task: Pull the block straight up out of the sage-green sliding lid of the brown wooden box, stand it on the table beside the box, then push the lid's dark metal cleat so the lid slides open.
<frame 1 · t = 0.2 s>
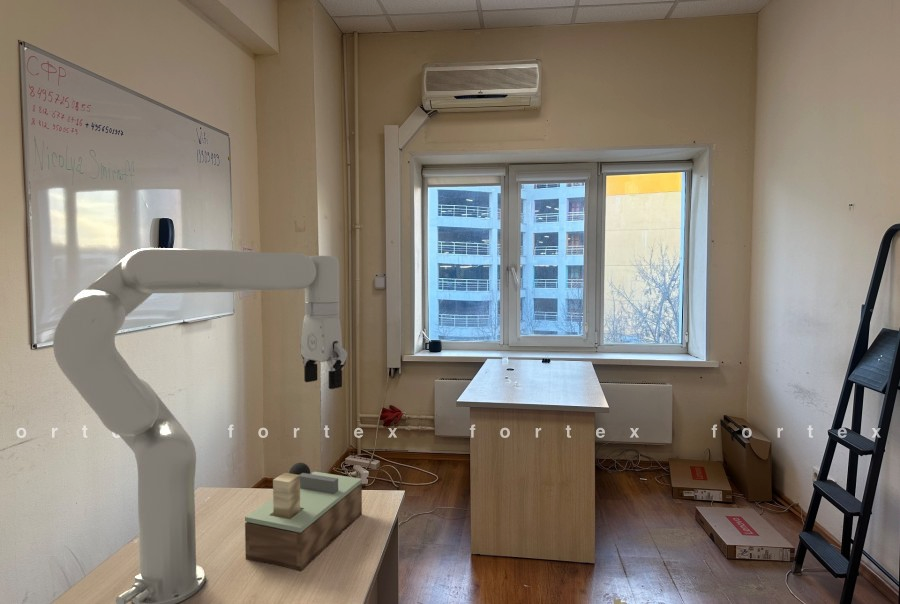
hand: (322, 384, 115), 36 cm above the table, tool pointing down, fingers open, 9 cm apart
block: (287, 530, 110), point 5 cm above the table, touching brown wooden box
brown wooden box: (308, 534, 118), on the table
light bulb: (299, 499, 136), on the table
lid: (308, 492, 117), point 10 cm above the table, slide at 0.0 cm
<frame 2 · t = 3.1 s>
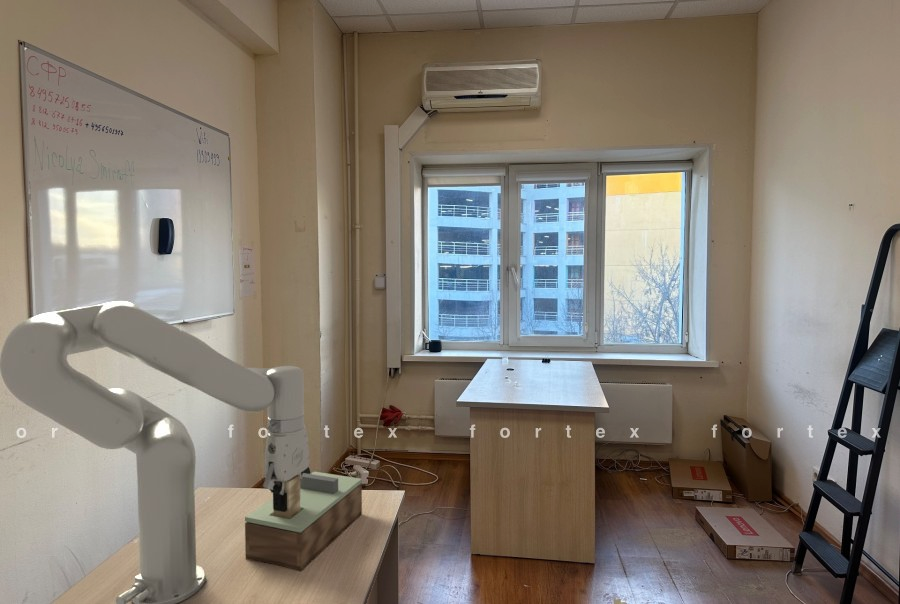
hand: (287, 504, 110), 11 cm above the table, tool pointing down, fingers closed on block, 3 cm apart
block: (287, 530, 110), point 5 cm above the table, touching gripper, brown wooden box
everything else where it was.
when the fingers open (7 cm above the table, at t = 10.7 s): block drops 2 cm, on the table.
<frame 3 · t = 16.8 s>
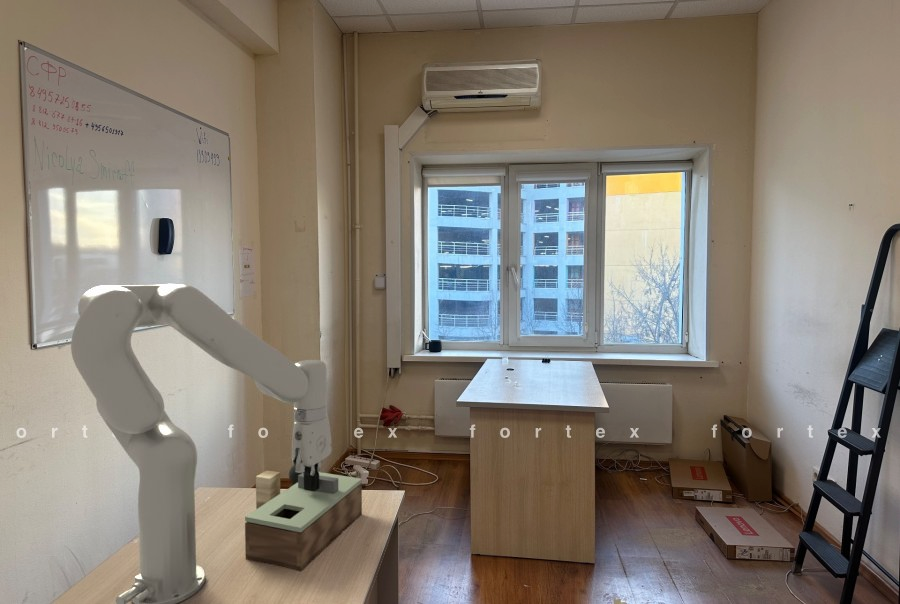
hand: (311, 489, 118), 10 cm above the table, tool pointing down, fingers closed
block: (268, 521, 124), on the table
lid: (308, 491, 117), point 10 cm above the table, slide at 0.1 cm, touching gripper
everything else where it was.
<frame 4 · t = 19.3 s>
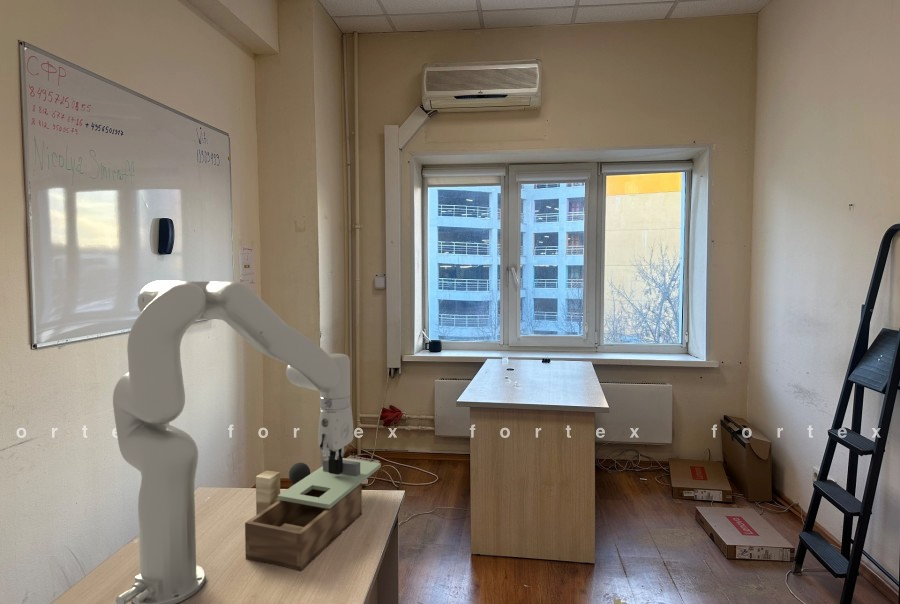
hand: (335, 472, 129), 10 cm above the table, tool pointing down, fingers closed
lid: (333, 474, 128), point 10 cm above the table, slide at 10.9 cm
everything else where it was.
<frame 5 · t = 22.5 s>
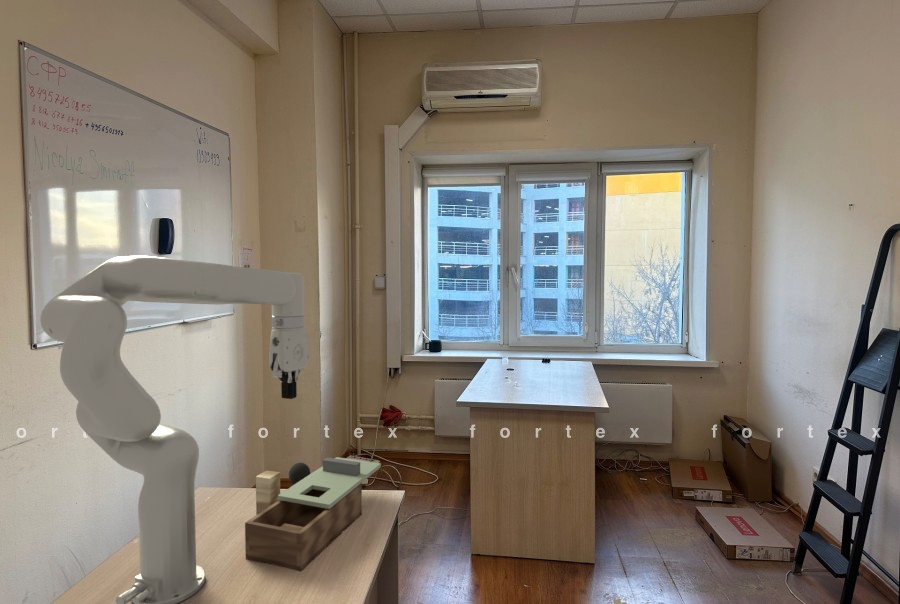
hand: (289, 397, 122), 31 cm above the table, tool pointing down, fingers closed
nothing on the table moved.
at the end: lid slide at 10.9 cm; block inside the target area (0.1 cm from its centre), on the table; block tilted 0° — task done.
